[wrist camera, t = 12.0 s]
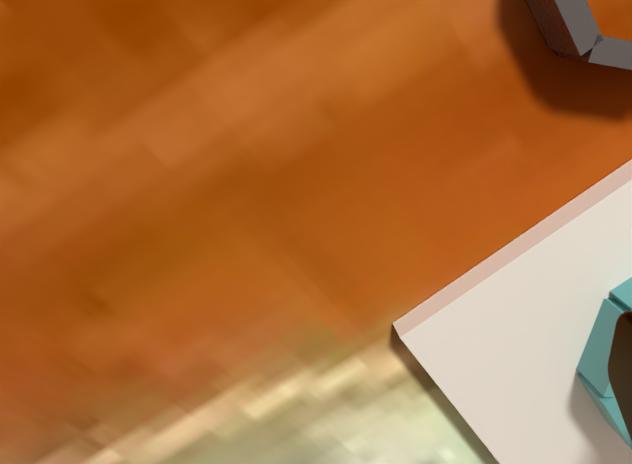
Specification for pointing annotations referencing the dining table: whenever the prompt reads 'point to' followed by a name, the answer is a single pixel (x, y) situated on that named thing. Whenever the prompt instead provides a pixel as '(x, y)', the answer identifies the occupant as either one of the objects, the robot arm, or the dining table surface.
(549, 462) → the socket board
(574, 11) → the collar ring
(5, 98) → the dining table surface
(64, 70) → the dining table surface
